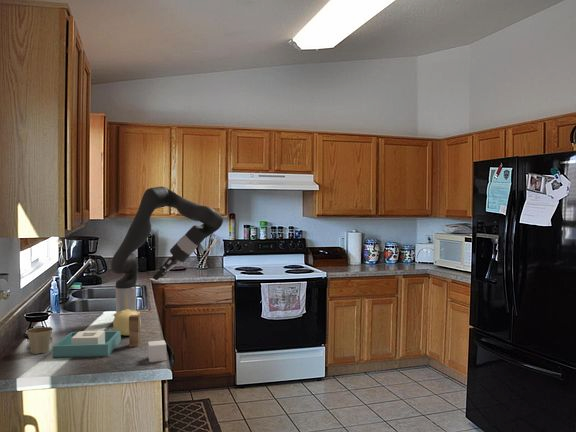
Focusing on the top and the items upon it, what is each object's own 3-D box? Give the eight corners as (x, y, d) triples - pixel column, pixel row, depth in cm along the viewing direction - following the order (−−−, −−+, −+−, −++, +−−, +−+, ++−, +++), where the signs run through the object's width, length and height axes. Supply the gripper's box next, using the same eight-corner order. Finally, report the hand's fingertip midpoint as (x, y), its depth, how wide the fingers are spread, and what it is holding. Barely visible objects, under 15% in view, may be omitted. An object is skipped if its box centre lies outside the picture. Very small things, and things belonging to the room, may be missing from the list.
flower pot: (56, 347, 203) (56, 326, 203) (49, 354, 194) (49, 332, 194) (31, 349, 202) (30, 327, 201) (23, 356, 192) (22, 333, 192)
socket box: (71, 343, 210) (70, 328, 209) (120, 341, 211) (120, 327, 211) (53, 358, 190) (52, 342, 189) (108, 356, 191) (107, 340, 191)
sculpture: (140, 329, 231) (140, 306, 230) (141, 336, 219) (140, 311, 219) (113, 331, 227) (113, 307, 227) (113, 338, 216) (112, 313, 215)
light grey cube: (164, 355, 192) (164, 340, 192) (166, 360, 186) (166, 344, 186) (148, 357, 190) (148, 341, 190) (149, 362, 184) (149, 346, 184)
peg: (131, 344, 208) (130, 314, 207) (140, 343, 208) (139, 314, 208) (129, 346, 204) (128, 316, 204) (138, 346, 204) (138, 316, 204)
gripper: (180, 240, 214) (154, 269, 214) (173, 243, 200) (145, 273, 200) (193, 252, 214) (167, 281, 214) (188, 256, 200) (160, 286, 200)
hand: (157, 277), depth 207 cm, fingers open, 8 cm apart
